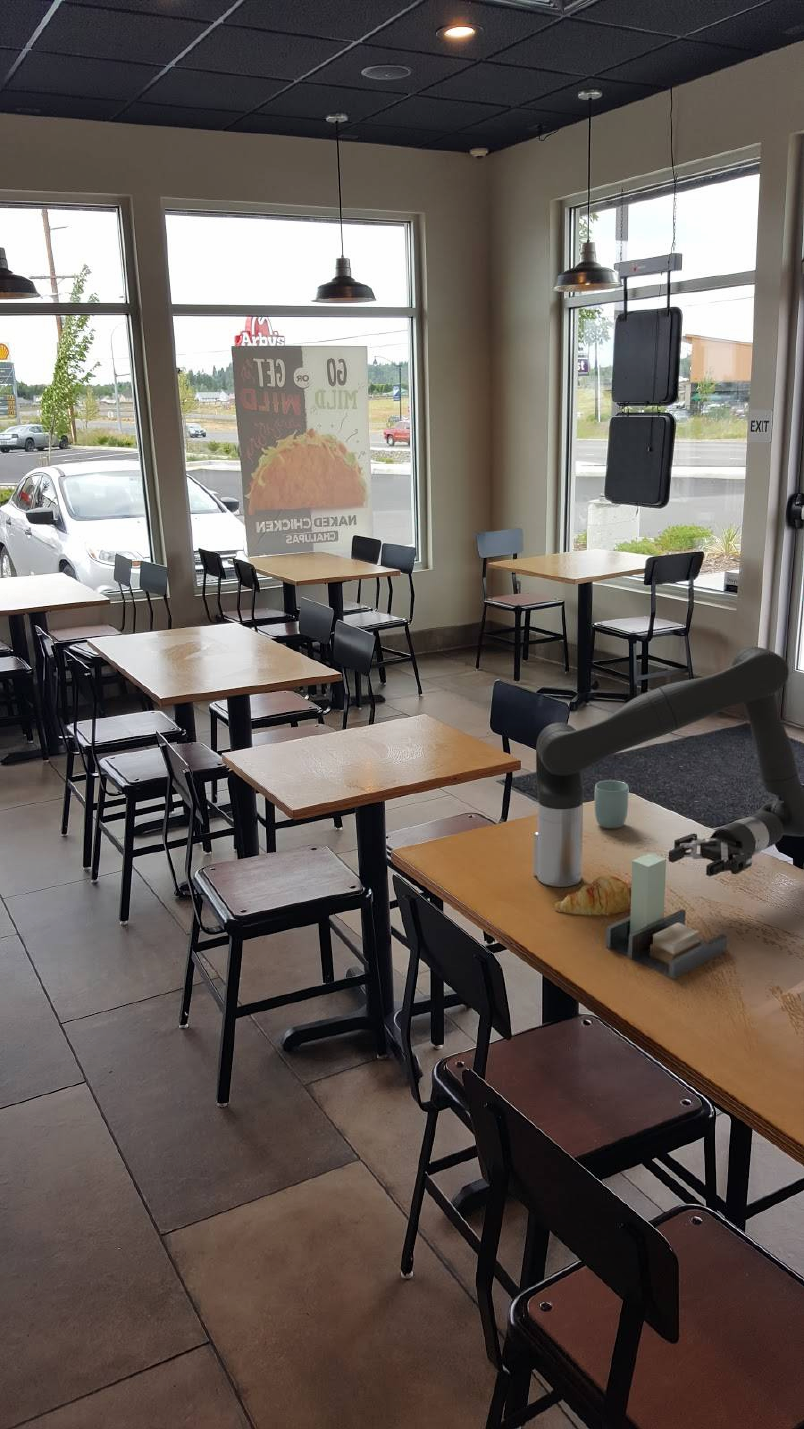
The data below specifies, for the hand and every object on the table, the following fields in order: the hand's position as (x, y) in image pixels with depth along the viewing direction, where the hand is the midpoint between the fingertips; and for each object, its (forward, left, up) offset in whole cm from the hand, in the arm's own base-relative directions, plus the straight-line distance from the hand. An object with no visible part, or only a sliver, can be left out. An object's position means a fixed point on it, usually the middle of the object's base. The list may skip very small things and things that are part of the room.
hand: (688, 864), depth 202 cm
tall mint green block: (0, -12, -12) cm, 16 cm away
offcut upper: (+6, -12, -10) cm, 16 cm away
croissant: (-15, -6, -13) cm, 21 cm away
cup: (-43, +27, -13) cm, 52 cm away
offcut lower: (+6, -12, -12) cm, 18 cm away
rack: (+4, -12, -13) cm, 18 cm away
